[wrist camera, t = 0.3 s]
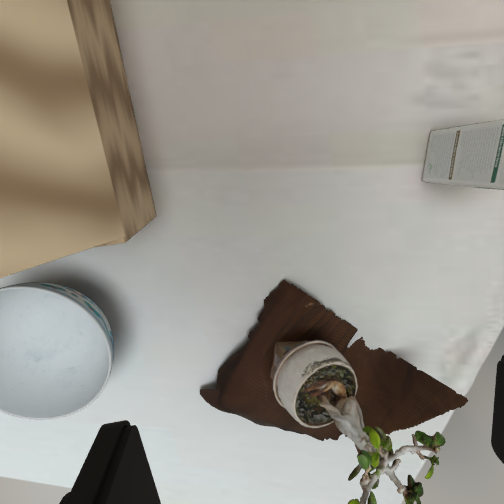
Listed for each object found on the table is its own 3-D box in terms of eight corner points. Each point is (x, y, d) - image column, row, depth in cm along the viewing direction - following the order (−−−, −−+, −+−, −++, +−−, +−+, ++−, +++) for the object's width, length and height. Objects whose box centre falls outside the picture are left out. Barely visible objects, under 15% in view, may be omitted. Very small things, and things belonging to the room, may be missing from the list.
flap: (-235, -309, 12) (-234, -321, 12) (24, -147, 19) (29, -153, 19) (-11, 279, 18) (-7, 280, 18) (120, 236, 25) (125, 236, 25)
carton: (-98, -15, 30) (-298, -121, 19) (101, -38, 31) (26, -155, 19) (-6, 239, 37) (-111, 276, 25) (156, 216, 37) (124, 242, 26)
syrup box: (419, 182, 39) (528, 196, 25) (429, 128, 37) (551, 111, 23) (466, 184, 39) (598, 199, 25) (477, 131, 37) (625, 115, 24)
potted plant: (267, 268, 43) (435, 384, 20) (361, 318, 51) (553, 438, 29) (193, 400, 43) (276, 652, 21) (297, 427, 52) (437, 630, 29)
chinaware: (-27, 306, 39) (-86, 341, 31) (75, 237, 37) (38, 256, 30) (62, 393, 43) (28, 443, 35) (156, 334, 42) (141, 372, 34)
